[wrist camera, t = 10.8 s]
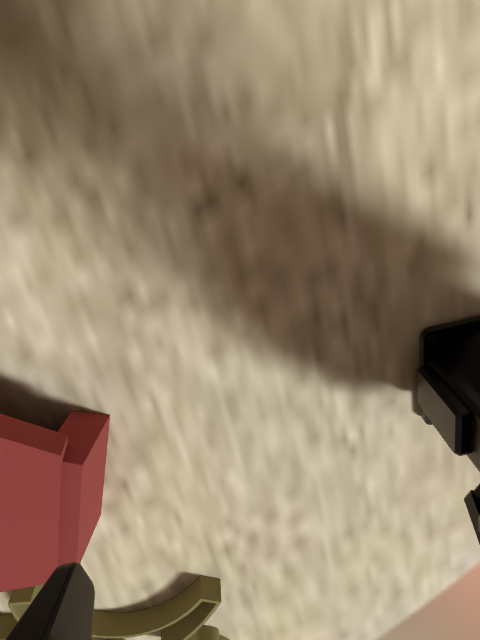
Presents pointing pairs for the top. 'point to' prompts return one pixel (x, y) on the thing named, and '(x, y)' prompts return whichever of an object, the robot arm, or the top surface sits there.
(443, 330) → the robot arm
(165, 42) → the top surface
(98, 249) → the top surface
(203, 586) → the cookie cutter
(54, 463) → the red wedge doorstop
